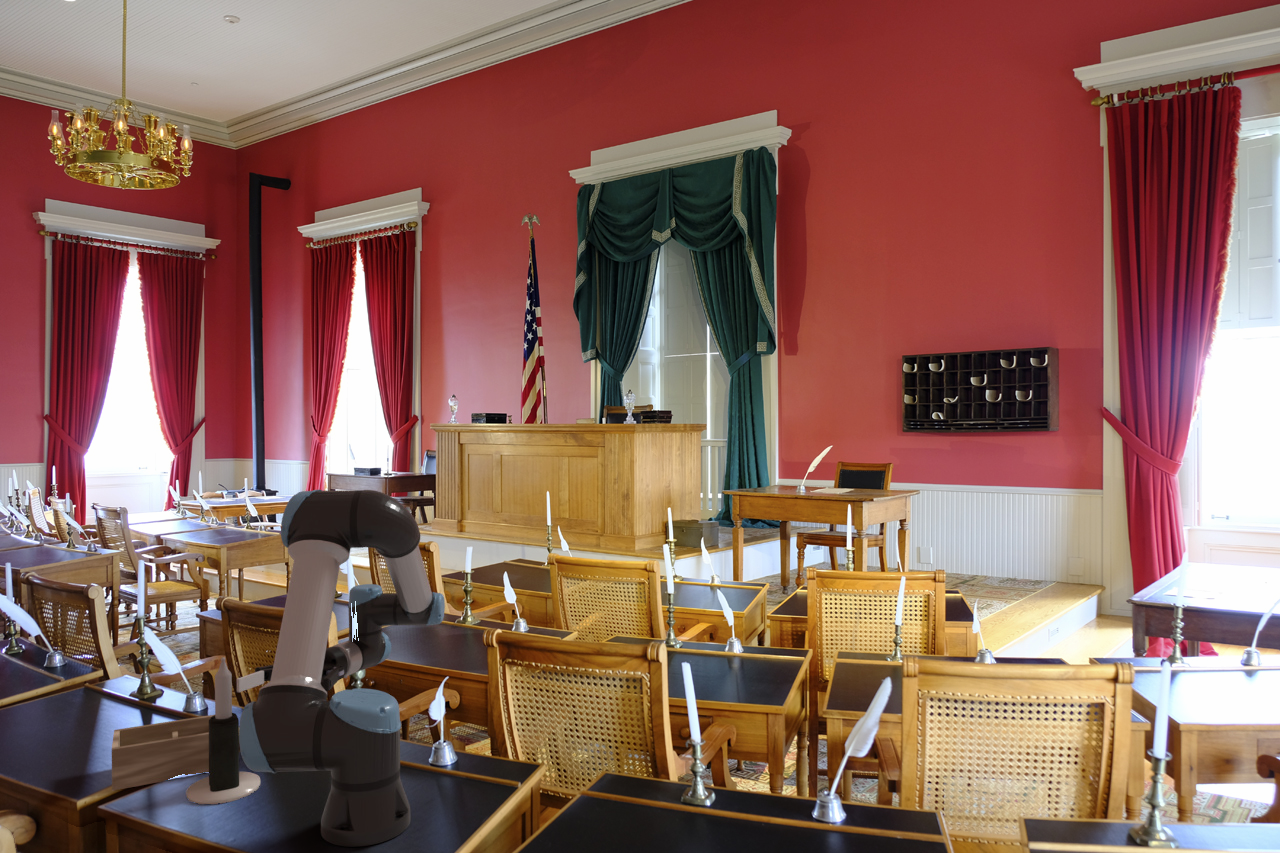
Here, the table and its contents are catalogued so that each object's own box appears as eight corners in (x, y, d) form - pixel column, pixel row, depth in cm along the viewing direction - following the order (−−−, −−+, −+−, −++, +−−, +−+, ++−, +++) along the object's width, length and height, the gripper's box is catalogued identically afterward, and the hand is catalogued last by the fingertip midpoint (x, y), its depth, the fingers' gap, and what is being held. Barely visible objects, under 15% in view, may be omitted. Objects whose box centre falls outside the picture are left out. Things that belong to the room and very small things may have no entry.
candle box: (236, 767, 179) (236, 729, 178) (112, 790, 168) (111, 749, 168) (232, 748, 189) (232, 711, 189) (114, 768, 178) (114, 729, 178)
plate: (263, 795, 166) (263, 790, 166) (187, 810, 160) (187, 806, 160) (256, 770, 177) (256, 766, 177) (185, 783, 171) (185, 779, 171)
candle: (239, 787, 168) (238, 658, 167) (210, 792, 165) (209, 662, 165) (237, 777, 172) (236, 652, 172) (208, 783, 169) (207, 655, 169)
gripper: (380, 685, 192) (309, 715, 172) (294, 672, 202) (218, 700, 182) (380, 651, 192) (309, 678, 172) (294, 640, 202) (217, 664, 182)
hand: (262, 689), depth 177 cm, fingers open, 13 cm apart
